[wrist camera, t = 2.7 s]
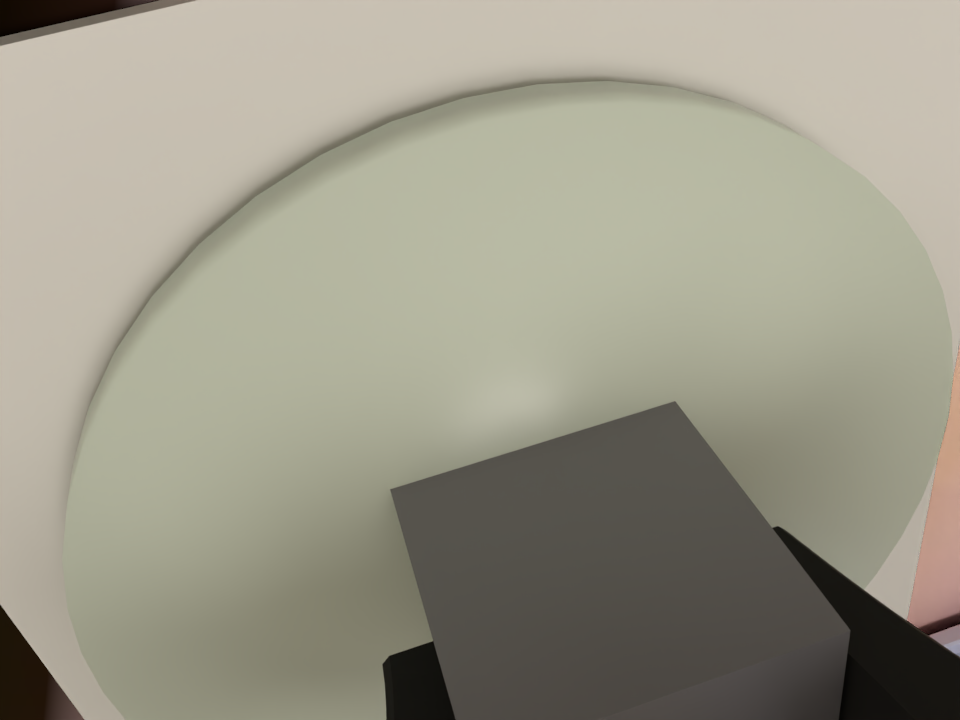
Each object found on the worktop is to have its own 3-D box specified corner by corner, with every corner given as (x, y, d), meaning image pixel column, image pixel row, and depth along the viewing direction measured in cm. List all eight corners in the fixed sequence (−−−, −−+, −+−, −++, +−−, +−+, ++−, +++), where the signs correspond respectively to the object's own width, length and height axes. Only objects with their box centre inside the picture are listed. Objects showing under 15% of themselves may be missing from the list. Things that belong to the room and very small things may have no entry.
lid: (875, 637, 18) (1058, 869, 15) (246, 860, 17) (265, 1190, 13) (981, -35, 11) (1424, 81, 7) (-149, 254, 9) (-385, 614, 5)
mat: (889, 639, 20) (900, 653, 20) (216, 880, 18) (217, 901, 18) (1036, -203, 11) (1064, -202, 10) (-330, 112, 9) (-349, 127, 8)
